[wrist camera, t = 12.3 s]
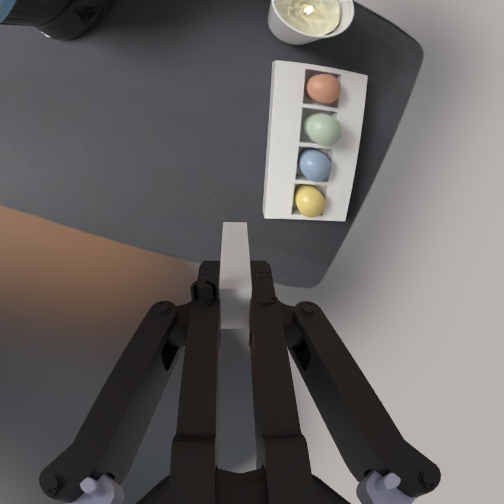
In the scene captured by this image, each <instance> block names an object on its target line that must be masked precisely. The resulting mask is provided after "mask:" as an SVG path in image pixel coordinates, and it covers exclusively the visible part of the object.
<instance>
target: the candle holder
mask: <svg viewBox="0 0 504 504" xmlns="http://www.w3.org/2000/svg"><path fill="white" fill-rule="evenodd" d="M353 17H354V4H353V1H352V0H271V2H270V7H269V12H268V26H269V28H270V30H271V32H272V33H273V34H274V35H275V36H276V37H277V38H278V39H279V40H281V41H283V42H285V43H288V44H292V45H304V44H308V43H311V42H314V41H317V40H321V39H324V38H328V37H333V36H336V35H338V34H340V33H342V32H343V31H345V30H346V29H347V28H348V27H349V25H350V24H351V22H352V20H353Z"/></svg>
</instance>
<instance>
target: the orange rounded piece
mask: <svg viewBox="0 0 504 504" xmlns="http://www.w3.org/2000/svg"><path fill="white" fill-rule="evenodd" d="M304 92H305V94H306V96H307V97H308V98H309V99H311V100H313V101H316V102H321V103H332V102H334V101H336V100H337V99H338V98H339V96H340V93H341V86H340V83H339V82H338V80H337V79H336V78H335V77H333V76H332V75H329V74H319V75H313V76H310V77H308V78H307V79H306V81H305V82H304Z"/></svg>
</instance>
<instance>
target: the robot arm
mask: <svg viewBox="0 0 504 504" xmlns="http://www.w3.org/2000/svg"><path fill="white" fill-rule="evenodd" d="M113 1H114V0H0V24H4V25H23V26H35V27H36V28H37V29H39V30H40V31H41V32H42V33H43V34H44V35H45V36H47V37H49V38H51V39H57V40H69V39H73V38H76V37H78V36H80V35H82V34H84V33H86V32H87V31H89V30H90V29H91V28H93V27H94V26H95V25H96V24H97V23H98V22H99V21H100V20H101V19H102V18H103V17H104V16H105V14H106V13H107V11H108V10H109V8H110V7H111V5H112V3H113ZM191 296H192V301H191V302H189V303H187V304H185V305H181V306H175V304H173V303H172V302H169V301H160V302H157V303H155V304H154V305H153V306H152V307H151V308H150V310H149V311H148V313H147V314H146V316H145V318H144V319H143V321H142V323H141V324H140V325H139V327H138V329H137V330H136V332H135V334H134V335H133V337H132V338H131V340H130V342H129V343H128V345H127V347H126V348H125V350H124V352H123V353H122V355H121V357H120V358H119V360H118V362H117V364H116V366H115V367H114V369H113V371H112V372H111V374H110V376H109V377H108V379H107V381H106V383H105V384H104V386H103V388H102V390H101V391H100V393H99V395H98V397H97V399H96V401H95V402H94V404H93V406H92V408H91V410H90V411H89V413H88V416H87V417H86V419H85V421H84V423H83V425H82V427H81V428H80V430H79V432H78V434H77V436H76V438H75V440H74V442H73V444H72V445H70V446H69V447H68V448H67V449H66V450H65V451H64V452H63V453H61V454H60V455H59V456H58V457H57V458H56V459H55V460H54V461H53V462H52V463H50V464H49V465H48V466H47V467H46V468H45V469H44V470H43V471H42V472H41V474H40V478H39V482H40V486H41V488H42V490H43V492H44V493H45V494H46V495H47V496H49V497H50V498H53V499H55V500H58V501H61V502H63V503H65V504H122V502H123V500H124V493H123V490H122V488H121V487H120V486H119V485H120V484H121V483H122V481H123V480H124V479H125V477H126V476H127V474H128V472H129V470H130V468H131V466H132V463H133V461H134V459H135V456H136V454H137V451H138V449H139V447H140V444H141V442H142V440H143V437H144V435H145V433H146V430H147V428H148V426H149V423H150V421H151V419H152V416H153V414H154V412H155V409H156V407H157V405H158V403H159V400H160V398H161V396H162V393H163V391H164V389H165V387H166V384H167V382H168V380H169V377H170V375H171V373H172V371H173V369H174V366H175V364H176V362H177V360H178V357H179V355H180V353H181V351H182V348H183V346H184V345H186V347H185V354H184V362H183V371H182V380H181V389H180V398H179V408H178V420H177V430H176V435H175V437H174V438H173V441H172V451H171V464H170V475H169V476H167V477H165V478H164V479H162V480H161V481H160V482H159V483H158V484H157V485H155V487H153V488H152V489H151V490H150V491H149V492H148V493H147V494H146V495H145V496H144V497H143V498H142V499H141V500H139V501H138V502H137V503H136V504H351V503H349V502H348V501H347V500H345V499H344V498H343V497H342V496H340V495H339V494H338V493H337V492H335V491H334V490H333V489H332V488H330V487H329V486H328V485H327V484H325V483H324V482H323V481H322V480H321V479H319V478H318V477H316V476H315V475H312V474H311V467H310V460H309V454H308V448H307V442H306V439H305V437H304V436H303V435H302V433H301V430H300V424H299V417H298V411H297V405H296V399H295V392H294V386H293V380H292V374H291V368H290V362H289V356H288V350H289V351H290V353H291V355H292V358H293V360H294V362H295V363H296V365H297V368H298V370H299V372H300V374H301V376H302V378H303V380H304V382H305V384H306V386H307V388H308V390H309V392H310V394H311V396H312V398H313V400H314V402H315V404H316V406H317V408H318V410H319V412H320V414H321V416H322V418H323V420H324V422H325V424H326V426H327V428H328V430H329V432H330V434H331V436H332V438H333V440H334V442H335V444H336V445H337V448H338V450H339V452H340V454H341V456H342V458H343V459H344V461H345V463H346V465H347V467H348V468H349V470H350V472H351V473H352V474H353V476H354V477H355V478H356V479H357V481H358V482H359V484H358V486H357V490H356V493H357V497H358V498H359V500H360V502H361V503H362V504H412V502H413V501H414V500H415V499H416V498H417V497H419V496H421V495H424V494H426V493H429V492H431V491H433V490H434V489H435V488H436V487H437V486H438V484H439V482H440V478H441V473H440V470H439V468H438V467H437V465H436V464H434V463H433V462H432V461H430V460H429V459H428V458H427V457H425V456H424V455H423V454H421V453H420V452H419V451H418V450H416V449H415V448H414V447H412V446H411V445H410V444H409V443H408V442H406V441H405V440H404V439H403V437H402V435H401V434H400V432H399V430H398V429H397V428H396V426H395V424H394V422H393V421H392V419H391V417H390V416H389V414H388V413H387V411H386V409H385V408H384V406H383V404H382V403H381V401H380V400H379V398H378V396H377V395H376V393H375V392H374V390H373V388H372V387H371V385H370V384H369V382H368V381H367V379H366V377H365V376H364V374H363V373H362V371H361V370H360V368H359V366H358V365H357V363H356V362H355V360H354V359H353V357H352V356H351V354H350V353H349V351H348V349H347V348H346V346H345V345H344V343H343V342H342V340H341V339H340V337H339V336H338V334H337V333H336V331H335V330H334V328H333V327H332V325H331V324H330V322H329V320H328V319H327V318H326V316H325V314H324V313H323V311H322V310H321V308H320V307H319V306H318V305H317V304H315V303H312V302H308V301H304V302H300V303H298V304H297V305H296V306H295V307H293V306H289V305H286V304H283V303H281V302H280V301H279V300H278V298H277V297H276V296H275V290H274V285H273V279H272V273H271V268H270V265H269V264H268V263H267V262H266V261H250V258H249V246H248V234H247V223H246V222H223V234H222V248H221V261H204V262H203V263H202V264H201V265H200V267H199V273H198V280H197V281H195V282H194V283H193V284H192V286H191ZM249 327H250V333H249V346H250V358H251V375H252V391H253V407H254V421H255V422H254V423H255V438H256V454H257V461H256V462H257V463H256V467H257V470H253V471H249V472H245V473H234V472H230V471H225V470H221V469H220V444H219V441H220V440H219V439H220V436H219V435H220V433H219V431H220V428H219V427H220V420H219V419H220V416H219V415H220V414H219V413H220V411H219V410H220V346H221V328H224V329H225V328H226V329H249ZM287 347H288V350H287Z"/></svg>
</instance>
